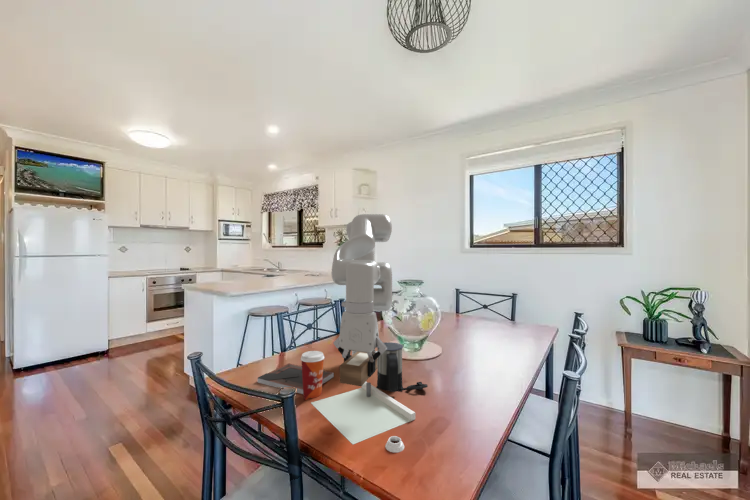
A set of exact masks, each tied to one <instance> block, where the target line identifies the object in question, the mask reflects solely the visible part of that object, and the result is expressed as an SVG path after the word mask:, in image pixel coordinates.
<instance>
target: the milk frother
mask: <svg viewBox="0 0 750 500" xmlns="http://www.w3.org/2000/svg"><path fill="white" fill-rule="evenodd" d="M383 343H384V344H385V346H386V347H387V350H386V351H385V352H383V353H382V354H381V355H380V356H379V357H378V358H377V370H376V371H377V372H376V373H377V374H376V375H377V380H376V386H375V387H376V388H377V389H379V390H381V391H387V392H392V393H395V392H397V393H398V392H400V393H401V392H403V391H409V390H410V391H411V390H412V391H414V390H417V391H422V390H423V389H426V388H428V384H426V383H423V382H422V381H417V382H416V384H411V385H408V386H406V387H404V386H403V348H404V345H402V344H401V343H398V342H390V341H389V342H383ZM376 348H377V350H376V351H379V349H380V348H379V347H376Z"/></svg>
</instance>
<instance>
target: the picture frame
mask: <svg viewBox="0 0 750 500" xmlns="http://www.w3.org/2000/svg"><path fill="white" fill-rule="evenodd" d="M334 374H335V373H334V371H327V370H324V369H323V378H322V385H323V384H325V383H326V382H328V381H330V380H331V379H333V378H334V377H335V376H334ZM257 383H258V384H261V385H267V386H271V387H274V388H277V387H280V388H279V389H281V387H282V388H284V387H295V388H297V392H296V393H297V394H301V395H303V379H302V365H299V364H294V363H286V364H285V365H282V366H280V367H278V368H276V369H274V370H272V371H269V372H267V373H264V374H261V375H260V376H258V377H257Z"/></svg>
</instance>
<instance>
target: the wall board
mask: <svg viewBox="0 0 750 500" xmlns="http://www.w3.org/2000/svg"><path fill="white" fill-rule="evenodd" d="M376 387H377V386H375V385H372V383H371V382H370V381H369V382H367V381H366V382H365V383H364V384H363V385H362V386H361V387H360V388H356V389H352V390H349V391H346V392H343V393H339V394H335V395H332V396H329V397H325V398H321V399H319V400H315V401H311V402H310V404H311V405H312V406H313V407H314V408H315V409H316V410H317V411H318V412H320V414H321V415H322V416H324V418H325V419H326V420H327V421H328V422H329V423H331V425H333V427H334V428H336V430H337V431H338V432H339V433H340V434H342V436H343V437H345V439H346V440H347V441H349V442H350V444H352V445H355V444H358V443H360V442H363V441H366V440H368V439H370V438H372V437H375V436H378V435H380V434H383V433H385V432H387V431H390V430H392V429H395V428H397V427H400V426H403V425H405V424H407V423H410V422H412V421H415V420H416V412H415V411H414V410H412V409H410V408H409V407H408V406H406V405H404V404H402V403H401V402H399V401H398V400H396V399H394V398H393V397H392V396H390V395H388V394H387V393H385V392H383V390H381V389H380V388H376Z"/></svg>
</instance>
